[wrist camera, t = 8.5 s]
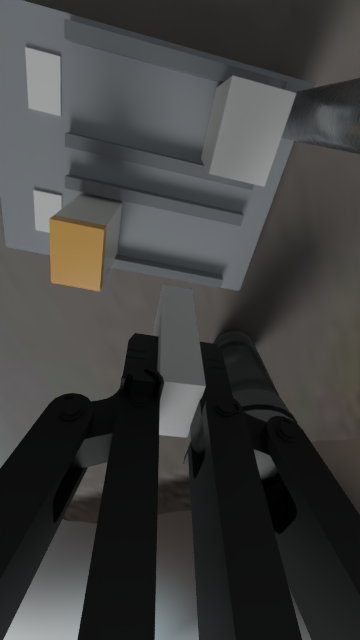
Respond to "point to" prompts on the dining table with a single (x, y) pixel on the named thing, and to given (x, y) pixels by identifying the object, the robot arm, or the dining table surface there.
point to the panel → (124, 143)
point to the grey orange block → (84, 241)
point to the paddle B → (245, 129)
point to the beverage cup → (250, 377)
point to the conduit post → (327, 116)
